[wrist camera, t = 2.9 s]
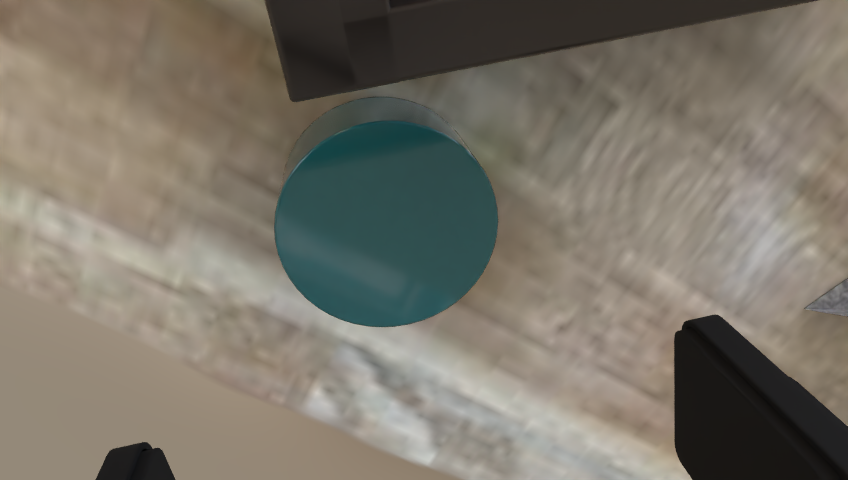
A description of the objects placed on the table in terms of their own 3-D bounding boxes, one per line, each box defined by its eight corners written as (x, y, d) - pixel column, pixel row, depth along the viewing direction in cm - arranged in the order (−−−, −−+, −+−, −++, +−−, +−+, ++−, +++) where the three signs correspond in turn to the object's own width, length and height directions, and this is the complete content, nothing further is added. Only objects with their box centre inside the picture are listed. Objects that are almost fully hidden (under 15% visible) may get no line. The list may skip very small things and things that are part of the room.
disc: (258, 118, 21) (246, 146, 17) (461, 78, 21) (484, 99, 18) (308, 296, 23) (305, 347, 20) (486, 258, 24) (509, 303, 21)
